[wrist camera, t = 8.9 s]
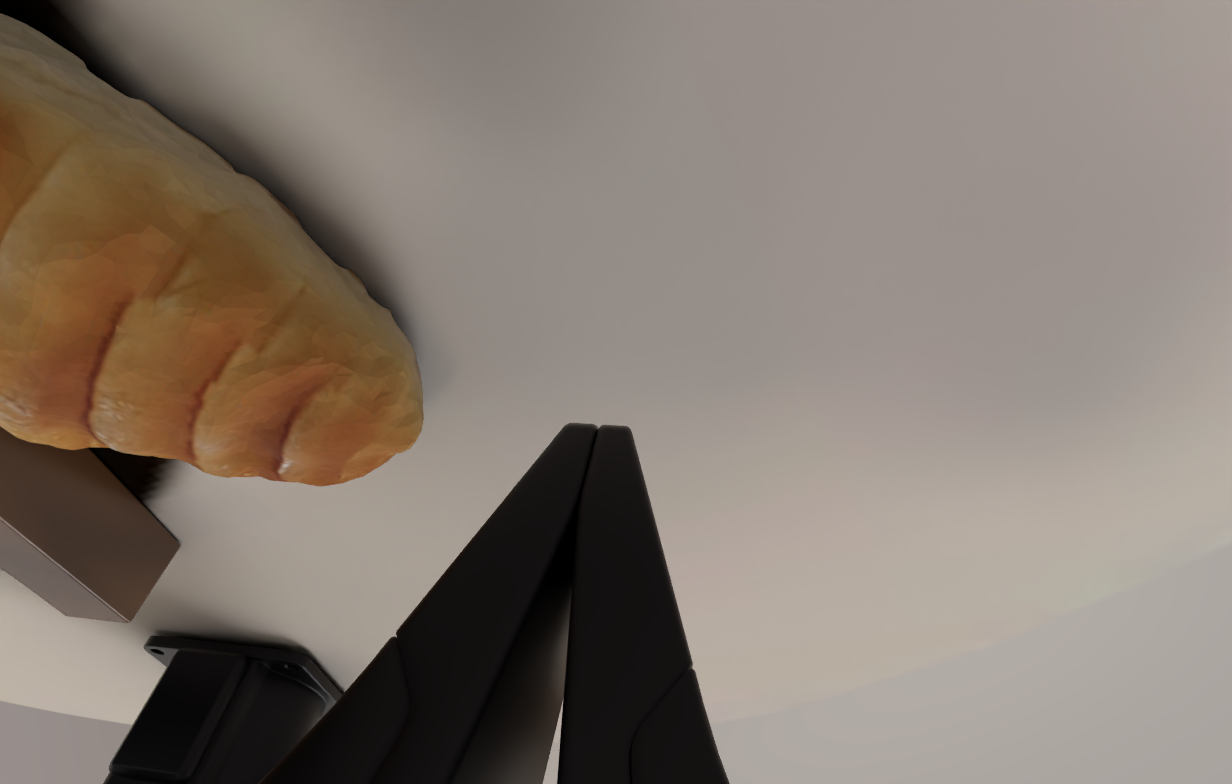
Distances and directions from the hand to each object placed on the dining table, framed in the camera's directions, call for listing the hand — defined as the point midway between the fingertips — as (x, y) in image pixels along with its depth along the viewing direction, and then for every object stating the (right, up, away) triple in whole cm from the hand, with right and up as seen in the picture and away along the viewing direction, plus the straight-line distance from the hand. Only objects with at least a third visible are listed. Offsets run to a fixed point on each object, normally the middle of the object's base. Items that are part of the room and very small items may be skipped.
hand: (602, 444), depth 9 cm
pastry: (-8, +3, +3) cm, 9 cm away
